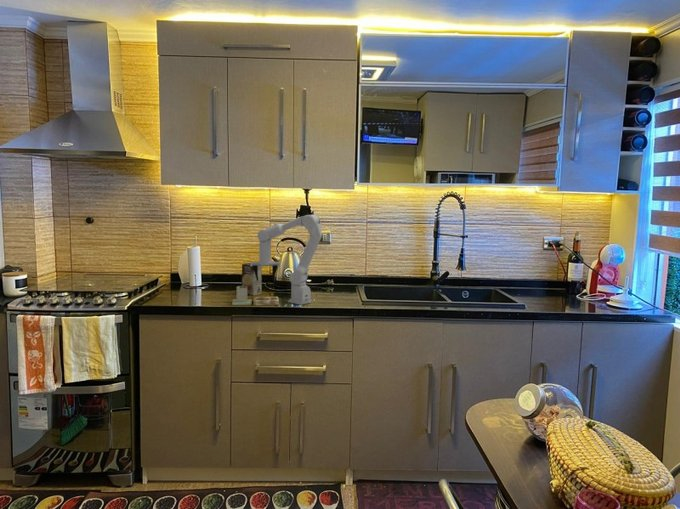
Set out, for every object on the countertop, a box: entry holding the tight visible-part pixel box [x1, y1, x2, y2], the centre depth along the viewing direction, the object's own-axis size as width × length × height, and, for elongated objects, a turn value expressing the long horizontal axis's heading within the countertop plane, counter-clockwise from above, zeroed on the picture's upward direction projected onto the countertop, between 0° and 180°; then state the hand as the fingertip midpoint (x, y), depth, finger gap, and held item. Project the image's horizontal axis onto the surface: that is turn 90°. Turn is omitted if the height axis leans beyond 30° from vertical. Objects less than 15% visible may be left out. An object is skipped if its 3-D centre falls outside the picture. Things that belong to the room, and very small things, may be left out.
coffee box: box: [241, 262, 263, 296], centre depth 252 cm, size 9×6×16 cm
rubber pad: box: [231, 298, 252, 306], centre depth 229 cm, size 9×9×1 cm
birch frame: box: [253, 296, 280, 306], centre depth 230 cm, size 12×10×2 cm
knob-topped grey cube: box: [236, 285, 248, 303], centre depth 229 cm, size 5×5×7 cm
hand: (265, 280), depth 237 cm, fingers open, 7 cm apart
